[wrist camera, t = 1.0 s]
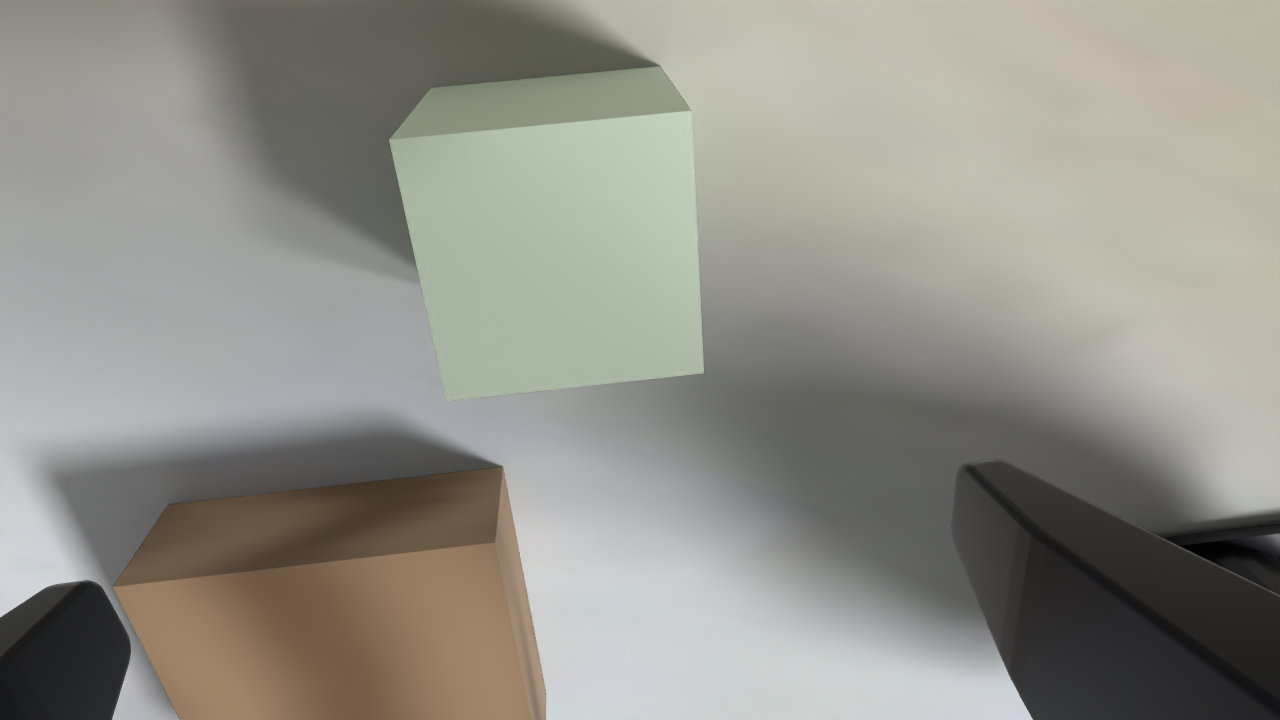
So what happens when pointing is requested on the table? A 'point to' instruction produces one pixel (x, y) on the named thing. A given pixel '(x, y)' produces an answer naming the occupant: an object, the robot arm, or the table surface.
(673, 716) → the table surface
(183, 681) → the walnut block
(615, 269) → the sage cube
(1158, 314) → the table surface
